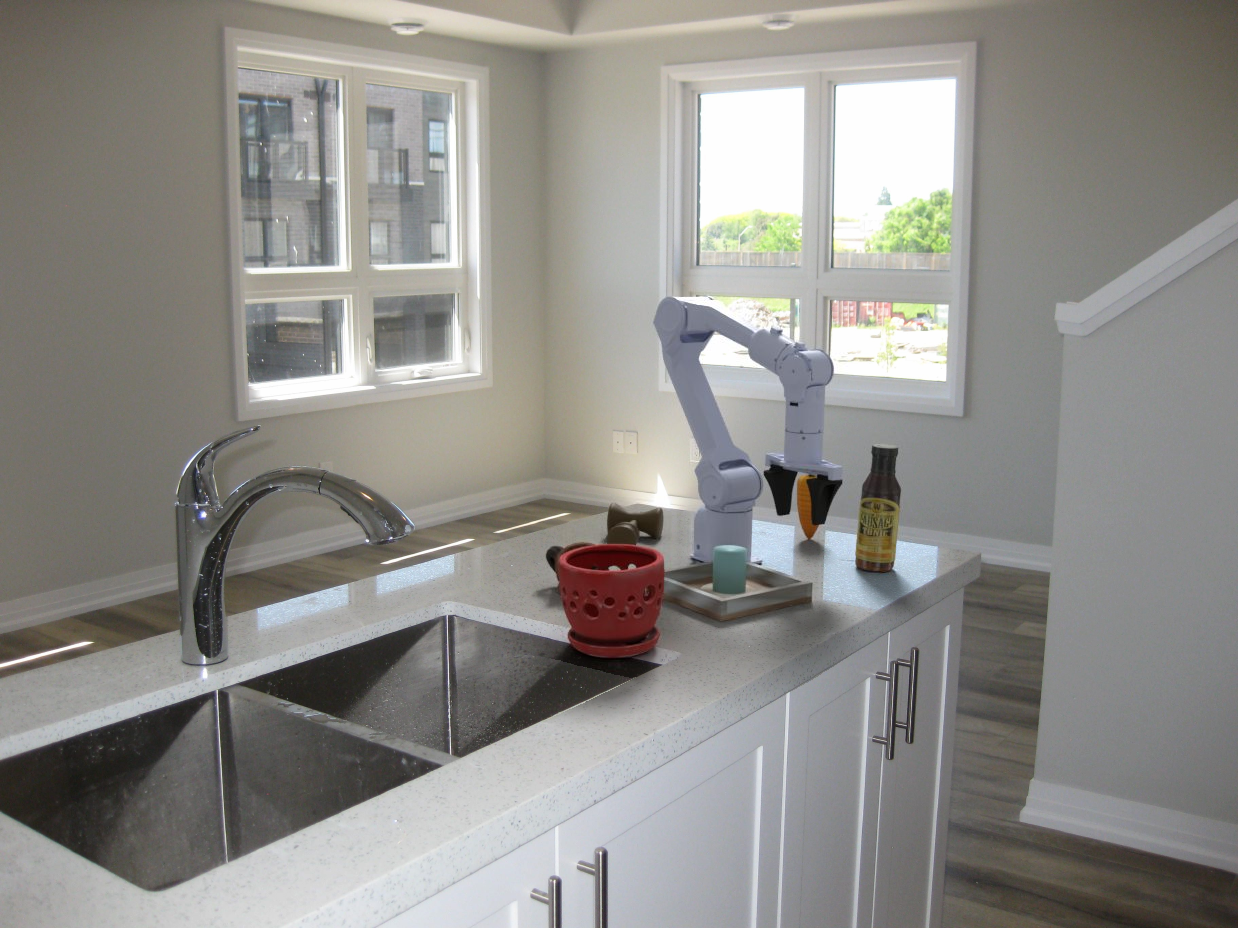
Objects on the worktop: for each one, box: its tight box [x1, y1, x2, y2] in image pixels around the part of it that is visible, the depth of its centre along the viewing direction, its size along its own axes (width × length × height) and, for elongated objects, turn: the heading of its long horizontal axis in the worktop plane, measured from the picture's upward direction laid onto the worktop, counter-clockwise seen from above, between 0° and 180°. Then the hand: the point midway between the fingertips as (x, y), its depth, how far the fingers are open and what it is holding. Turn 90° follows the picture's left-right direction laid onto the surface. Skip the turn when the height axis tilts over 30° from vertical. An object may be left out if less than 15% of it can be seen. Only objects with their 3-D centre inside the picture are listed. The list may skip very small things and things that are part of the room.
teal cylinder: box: [713, 545, 747, 594], centre depth 166 cm, size 5×5×6 cm
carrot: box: [796, 469, 820, 540], centre depth 201 cm, size 5×5×15 cm
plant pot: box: [558, 543, 666, 659], centre depth 143 cm, size 13×13×12 cm
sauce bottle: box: [854, 443, 902, 573], centre depth 182 cm, size 7×6×20 cm
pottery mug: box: [545, 541, 611, 597], centre depth 169 cm, size 12×10×8 cm
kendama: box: [606, 502, 665, 545], centre depth 200 cm, size 6×10×20 cm
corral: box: [645, 561, 813, 622], centre depth 167 cm, size 17×17×3 cm
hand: (800, 519), depth 175 cm, fingers open, 7 cm apart
